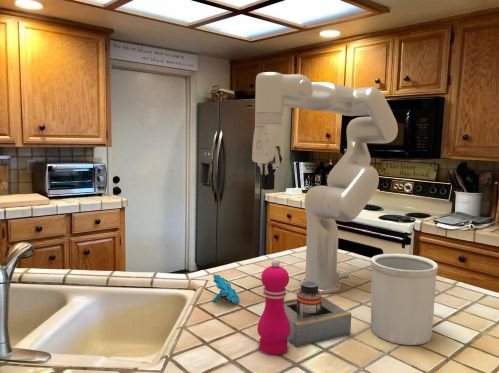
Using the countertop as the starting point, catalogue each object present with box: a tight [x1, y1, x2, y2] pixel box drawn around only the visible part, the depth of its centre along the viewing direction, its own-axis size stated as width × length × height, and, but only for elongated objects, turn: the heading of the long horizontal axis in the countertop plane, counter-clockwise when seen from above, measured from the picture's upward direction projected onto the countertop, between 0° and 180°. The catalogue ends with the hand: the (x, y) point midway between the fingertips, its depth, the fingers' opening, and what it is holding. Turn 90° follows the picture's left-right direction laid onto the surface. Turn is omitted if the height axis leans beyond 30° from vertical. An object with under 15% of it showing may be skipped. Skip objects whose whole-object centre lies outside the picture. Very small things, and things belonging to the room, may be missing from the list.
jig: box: [284, 296, 352, 348], centre depth 101 cm, size 15×13×5 cm
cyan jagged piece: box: [212, 274, 241, 305], centre depth 117 cm, size 11×6×10 cm
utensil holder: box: [370, 253, 439, 346], centre depth 99 cm, size 15×15×18 cm
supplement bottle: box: [296, 281, 323, 318], centre depth 101 cm, size 6×6×11 cm
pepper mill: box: [256, 258, 290, 356], centre depth 90 cm, size 7×7×20 cm
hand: (267, 189), depth 112 cm, fingers closed
